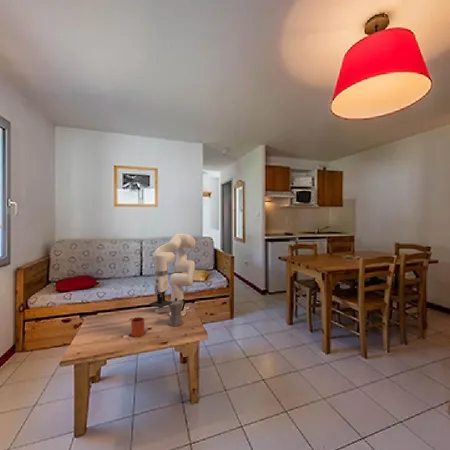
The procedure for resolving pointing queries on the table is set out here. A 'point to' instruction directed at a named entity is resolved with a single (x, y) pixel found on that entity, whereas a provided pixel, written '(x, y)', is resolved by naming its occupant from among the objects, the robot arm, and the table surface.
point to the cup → (137, 326)
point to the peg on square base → (161, 303)
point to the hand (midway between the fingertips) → (161, 301)
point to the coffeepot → (176, 312)
